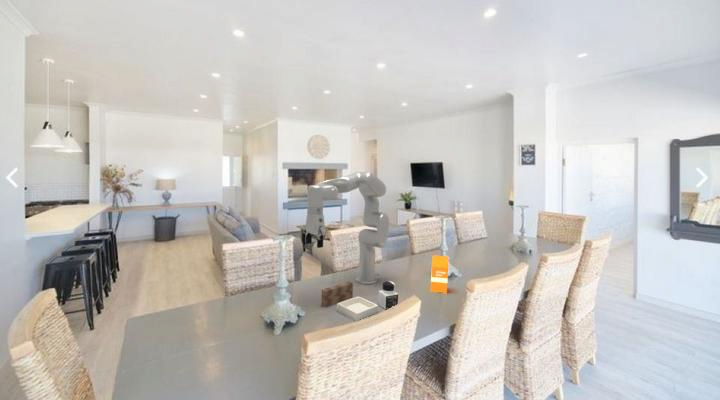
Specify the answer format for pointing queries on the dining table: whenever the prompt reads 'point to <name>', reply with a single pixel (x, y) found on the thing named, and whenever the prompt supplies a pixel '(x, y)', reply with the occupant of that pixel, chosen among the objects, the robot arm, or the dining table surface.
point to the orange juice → (439, 274)
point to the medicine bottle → (388, 295)
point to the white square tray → (357, 308)
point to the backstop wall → (336, 294)
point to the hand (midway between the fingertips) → (314, 245)
